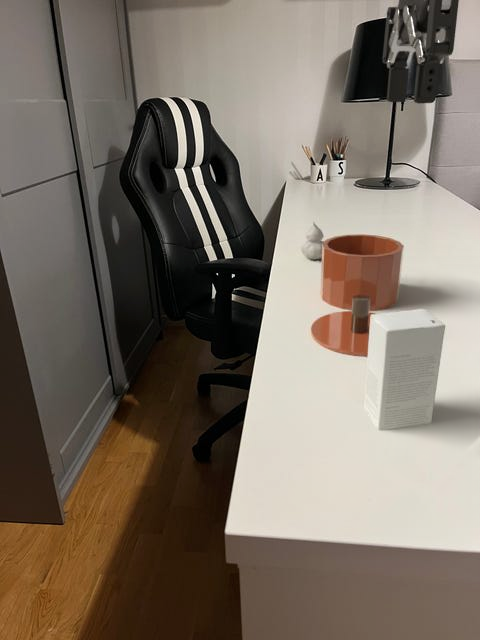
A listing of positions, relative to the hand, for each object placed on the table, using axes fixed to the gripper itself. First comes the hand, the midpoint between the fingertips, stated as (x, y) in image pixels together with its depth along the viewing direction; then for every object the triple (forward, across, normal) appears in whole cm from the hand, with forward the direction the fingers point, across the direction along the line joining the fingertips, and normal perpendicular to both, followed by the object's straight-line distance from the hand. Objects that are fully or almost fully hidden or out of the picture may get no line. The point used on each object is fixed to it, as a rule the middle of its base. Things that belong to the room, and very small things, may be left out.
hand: (409, 102), depth 58 cm
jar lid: (+30, +1, +4) cm, 31 cm away
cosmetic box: (+31, -19, +5) cm, 37 cm away
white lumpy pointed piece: (+31, +38, +2) cm, 49 cm away
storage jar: (+31, +15, 0) cm, 34 cm away
